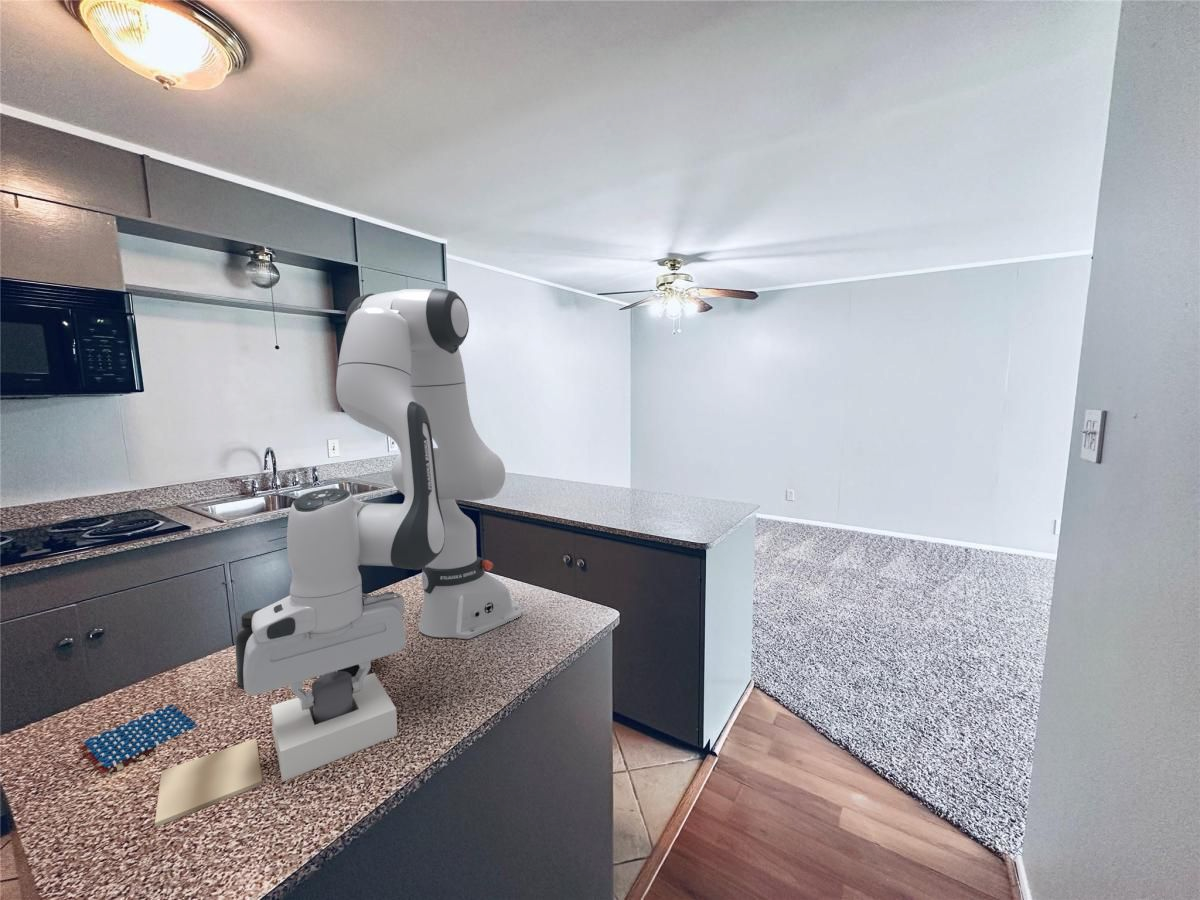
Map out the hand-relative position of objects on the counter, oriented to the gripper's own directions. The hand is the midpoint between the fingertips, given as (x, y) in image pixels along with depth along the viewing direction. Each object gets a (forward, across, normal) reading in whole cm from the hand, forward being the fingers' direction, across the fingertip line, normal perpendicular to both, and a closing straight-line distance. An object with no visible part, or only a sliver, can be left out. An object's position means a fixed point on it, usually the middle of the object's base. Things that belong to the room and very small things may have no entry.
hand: (332, 698), depth 70 cm
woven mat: (+7, +22, -17) cm, 29 cm away
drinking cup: (+6, -6, -17) cm, 19 cm away
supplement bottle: (+7, +7, -26) cm, 28 cm away
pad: (+6, +14, 0) cm, 15 cm away
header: (+6, 0, 0) cm, 6 cm away
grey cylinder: (+5, 0, 0) cm, 5 cm away
